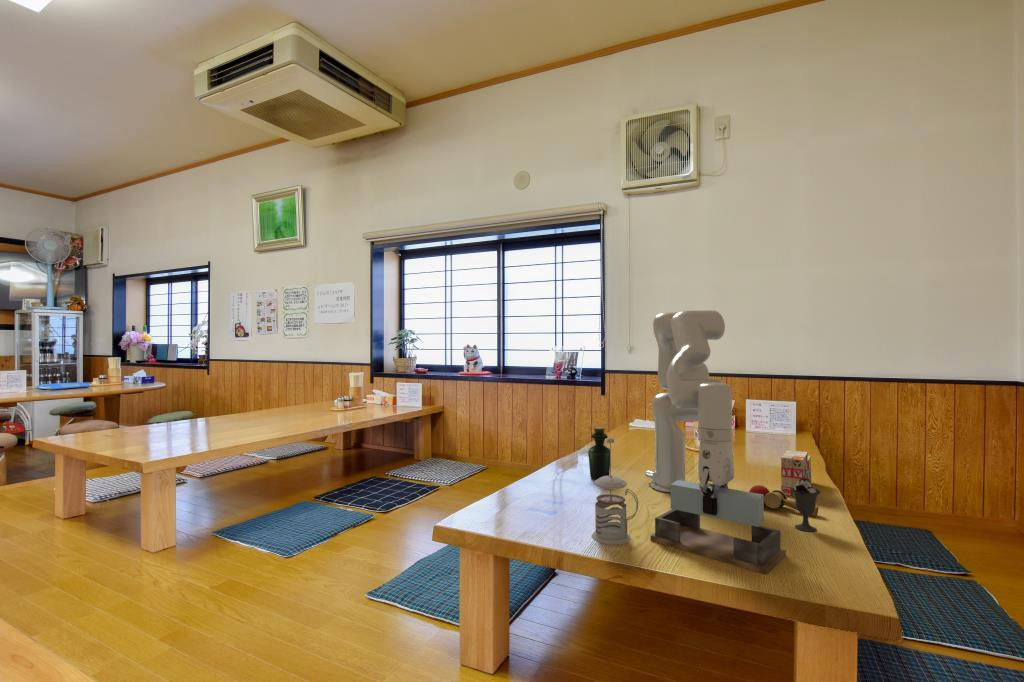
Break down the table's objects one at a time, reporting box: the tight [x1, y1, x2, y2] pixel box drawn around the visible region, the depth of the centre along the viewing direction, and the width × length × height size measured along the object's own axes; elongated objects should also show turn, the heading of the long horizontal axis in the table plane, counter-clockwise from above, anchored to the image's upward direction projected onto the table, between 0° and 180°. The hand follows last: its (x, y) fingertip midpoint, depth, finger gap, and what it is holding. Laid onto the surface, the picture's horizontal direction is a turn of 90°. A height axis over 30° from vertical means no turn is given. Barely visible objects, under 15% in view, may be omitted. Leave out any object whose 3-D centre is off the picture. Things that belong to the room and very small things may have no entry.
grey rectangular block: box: [670, 480, 765, 527], centre depth 122 cm, size 20×5×6 cm, turn 52°
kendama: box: [748, 484, 819, 518], centre depth 149 cm, size 8×6×18 cm
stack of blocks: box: [780, 449, 812, 498], centre depth 169 cm, size 21×6×12 cm, turn 144°
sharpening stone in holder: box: [650, 509, 787, 575], centre depth 122 cm, size 27×13×6 cm, turn 46°
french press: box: [591, 437, 639, 546], centre depth 129 cm, size 10×12×25 cm
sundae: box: [791, 470, 821, 533], centre depth 134 cm, size 7×7×15 cm
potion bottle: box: [587, 426, 610, 481], centre depth 184 cm, size 8×8×18 cm
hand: (715, 510), depth 122 cm, fingers closed on grey rectangular block, 5 cm apart
